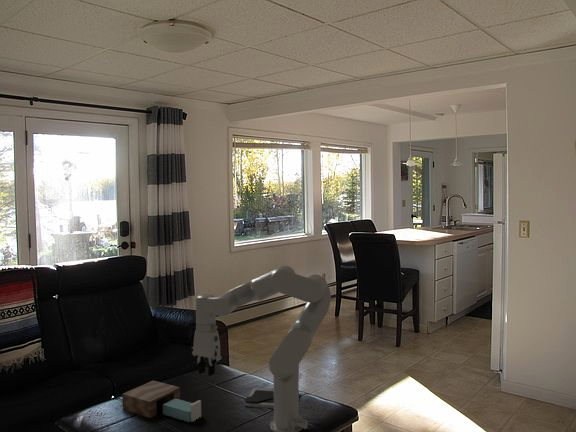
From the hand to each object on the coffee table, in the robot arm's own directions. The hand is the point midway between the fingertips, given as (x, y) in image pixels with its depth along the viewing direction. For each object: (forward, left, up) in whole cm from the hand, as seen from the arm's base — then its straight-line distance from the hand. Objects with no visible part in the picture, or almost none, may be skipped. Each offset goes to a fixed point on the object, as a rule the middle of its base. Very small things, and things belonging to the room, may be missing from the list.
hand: (206, 373), depth 189 cm
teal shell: (+13, 0, -19) cm, 24 cm away
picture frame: (-10, -30, -20) cm, 38 cm away
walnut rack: (+30, 0, -19) cm, 36 cm away
